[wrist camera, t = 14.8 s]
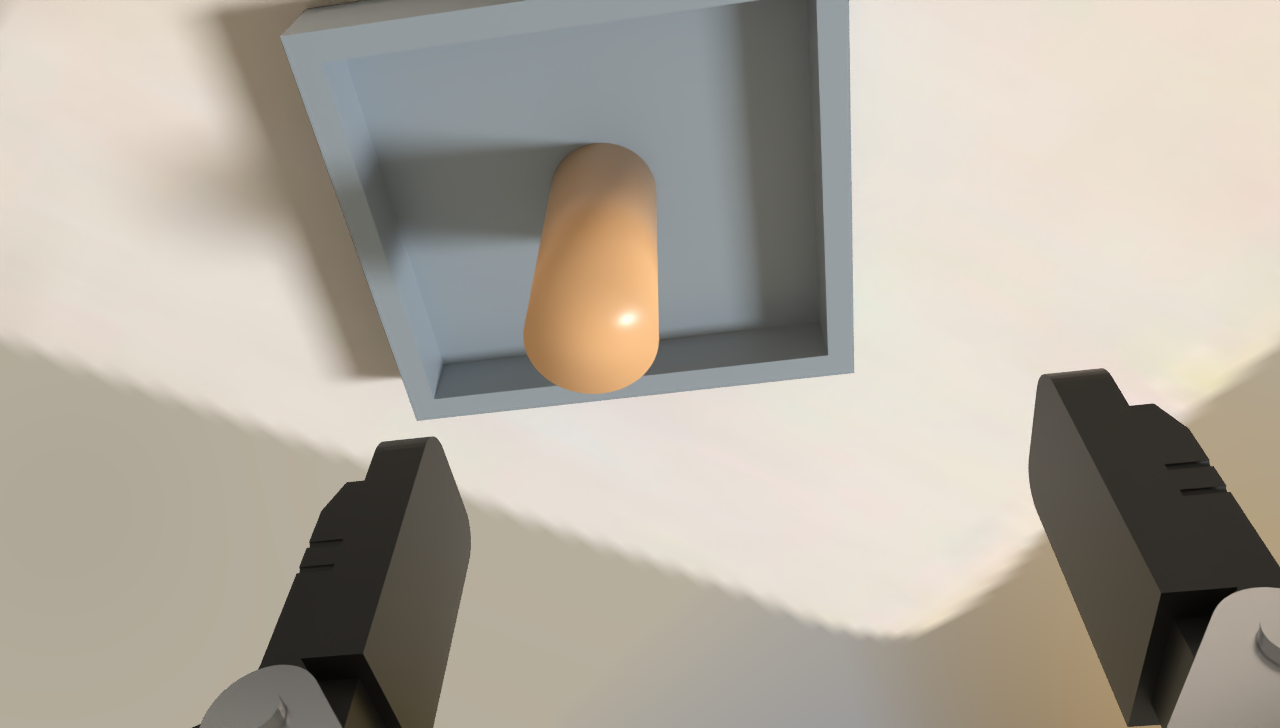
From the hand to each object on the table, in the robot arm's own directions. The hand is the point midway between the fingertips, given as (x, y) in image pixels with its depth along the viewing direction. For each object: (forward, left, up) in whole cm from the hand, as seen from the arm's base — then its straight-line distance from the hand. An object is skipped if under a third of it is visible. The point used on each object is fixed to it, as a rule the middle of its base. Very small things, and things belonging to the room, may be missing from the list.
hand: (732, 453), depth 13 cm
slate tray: (+4, +7, -24) cm, 26 cm away
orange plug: (+4, +7, -24) cm, 25 cm away
